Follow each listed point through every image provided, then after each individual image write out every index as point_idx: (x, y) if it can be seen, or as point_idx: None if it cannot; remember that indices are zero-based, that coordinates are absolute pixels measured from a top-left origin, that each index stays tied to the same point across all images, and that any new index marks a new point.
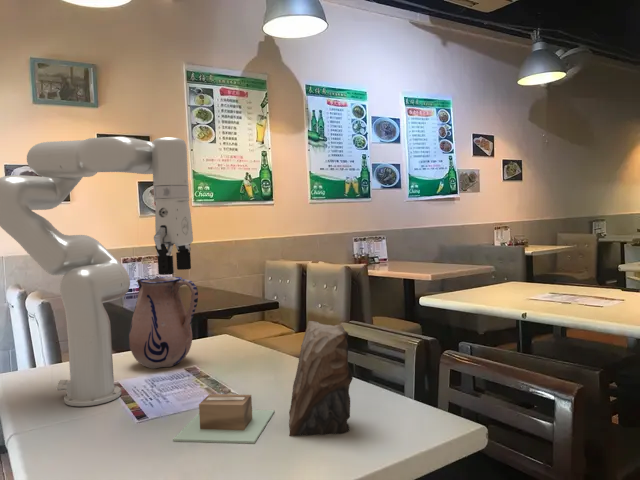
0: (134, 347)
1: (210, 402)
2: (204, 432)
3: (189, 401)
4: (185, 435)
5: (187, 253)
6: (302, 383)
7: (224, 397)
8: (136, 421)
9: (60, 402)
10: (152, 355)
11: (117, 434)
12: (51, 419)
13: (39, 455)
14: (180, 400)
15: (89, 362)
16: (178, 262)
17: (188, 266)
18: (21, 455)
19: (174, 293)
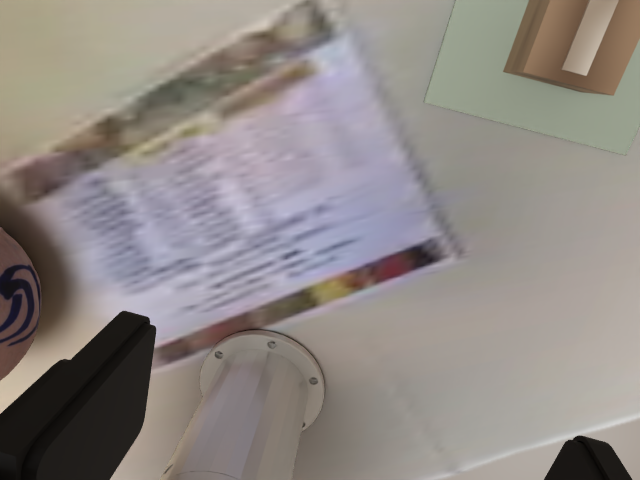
0: (13, 368)
1: (610, 59)
2: None
3: (334, 150)
4: (613, 126)
5: (43, 465)
6: None
7: (588, 13)
8: (453, 261)
9: None
10: (36, 306)
11: (526, 287)
12: (387, 430)
13: (589, 404)
14: (321, 176)
15: (292, 452)
16: (110, 468)
17: (145, 342)
18: (575, 432)
19: None
